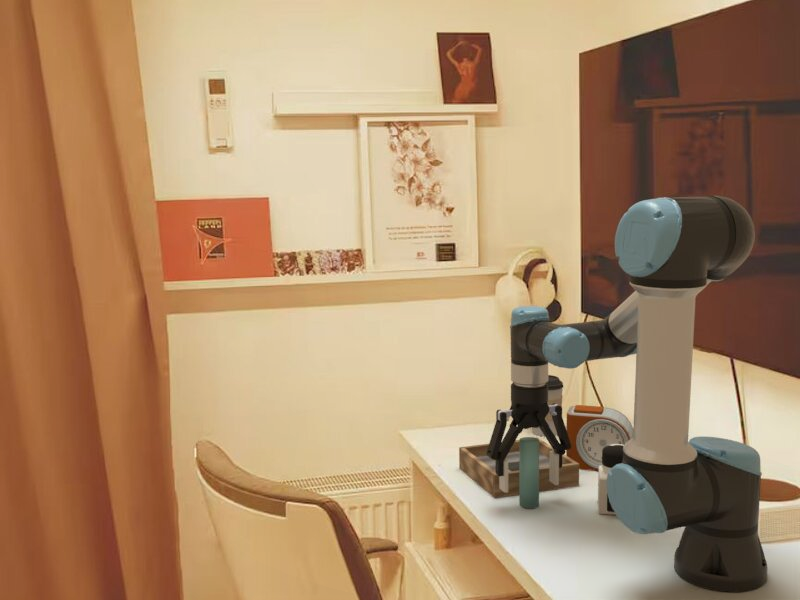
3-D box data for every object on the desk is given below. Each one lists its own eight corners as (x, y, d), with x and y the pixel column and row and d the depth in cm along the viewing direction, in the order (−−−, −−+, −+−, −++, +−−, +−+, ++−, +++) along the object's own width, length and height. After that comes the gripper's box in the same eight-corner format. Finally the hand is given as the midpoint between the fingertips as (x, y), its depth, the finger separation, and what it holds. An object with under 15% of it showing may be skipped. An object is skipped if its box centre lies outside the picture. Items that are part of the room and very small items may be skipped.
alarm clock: (564, 468, 209) (565, 411, 207) (570, 456, 217) (570, 401, 215) (630, 474, 204) (632, 416, 202) (633, 462, 212) (635, 406, 210)
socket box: (579, 485, 198) (579, 463, 197) (495, 498, 192) (494, 475, 191) (537, 457, 217) (537, 437, 216) (459, 468, 211) (459, 447, 210)
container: (638, 516, 181) (639, 454, 179) (598, 514, 182) (599, 452, 180) (636, 502, 188) (637, 442, 186) (597, 500, 190) (598, 440, 188)
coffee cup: (543, 425, 242) (544, 370, 240) (570, 432, 235) (570, 376, 233) (520, 432, 237) (520, 376, 234) (547, 440, 230) (547, 382, 227)
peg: (542, 507, 186) (542, 441, 184) (524, 509, 185) (524, 443, 183) (533, 500, 190) (533, 436, 188) (516, 503, 189) (516, 438, 187)
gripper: (571, 373, 191) (570, 473, 194) (469, 383, 184) (470, 487, 187) (589, 381, 184) (588, 485, 187) (484, 392, 176) (484, 500, 180)
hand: (529, 486), depth 187 cm, fingers open, 11 cm apart
